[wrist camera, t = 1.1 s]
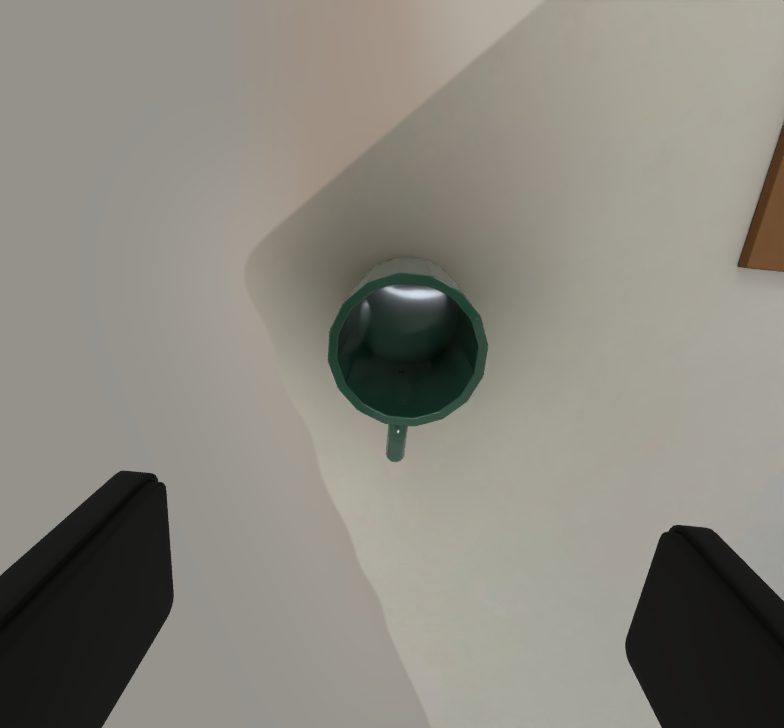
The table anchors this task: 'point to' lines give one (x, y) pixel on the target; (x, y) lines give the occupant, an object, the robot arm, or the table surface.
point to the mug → (407, 347)
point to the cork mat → (768, 221)
